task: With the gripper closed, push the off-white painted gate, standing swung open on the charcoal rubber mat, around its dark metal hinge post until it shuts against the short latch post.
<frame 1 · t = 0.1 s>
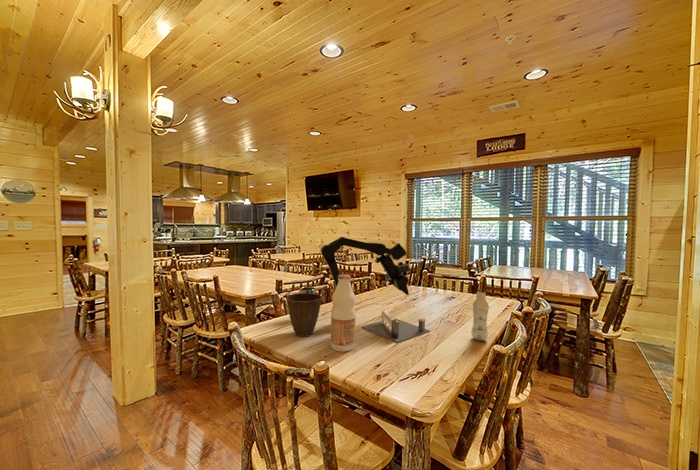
hand: (404, 292, 142), 15 cm above the table, tool tilted 30°, fingers open, 9 cm apart
hinge post: (394, 338, 122), resting on mat
latch post: (421, 331, 130), resting on mat
mat: (395, 329, 132), on the table
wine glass: (307, 318, 146), on the table
plant pot: (303, 333, 125), on the table
plastic bottle: (479, 340, 122), on the table
gate: (388, 321, 131), point 4 cm above the table, hinge at 60.0°
fruit juice: (342, 347, 112), on the table
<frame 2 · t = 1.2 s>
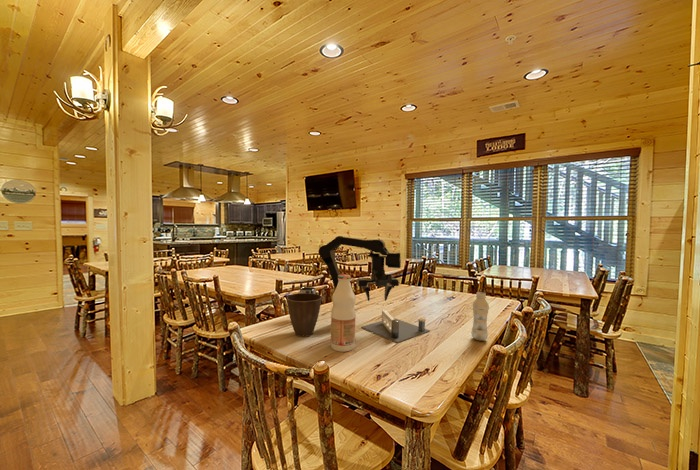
hand: (377, 300, 132), 13 cm above the table, tool pointing down, fingers open, 8 cm apart
nothing on the table moved.
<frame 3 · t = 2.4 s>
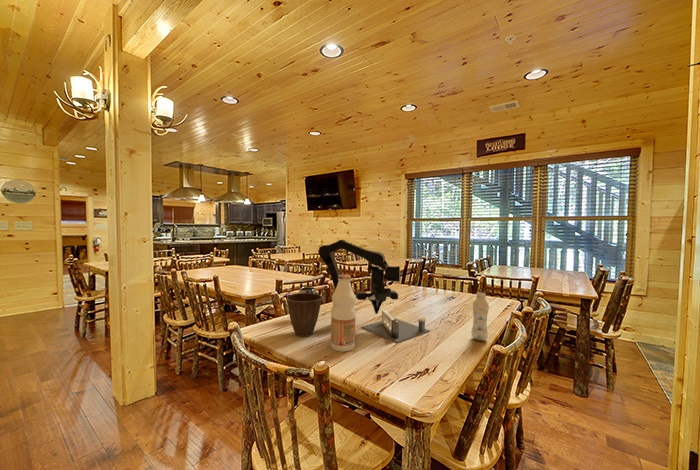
hand: (376, 313, 132), 7 cm above the table, tool pointing down, fingers closed
nothing on the table moved.
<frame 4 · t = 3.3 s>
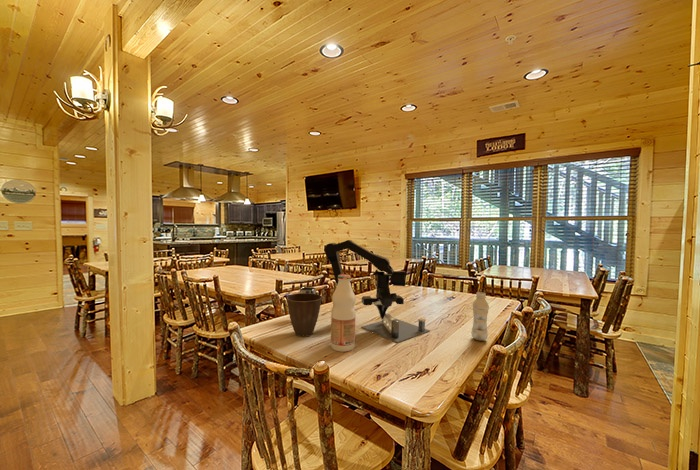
hand: (382, 318, 133), 5 cm above the table, tool pointing down, fingers closed
gate: (388, 321, 131), point 4 cm above the table, hinge at 60.0°, touching gripper
everything else where it was.
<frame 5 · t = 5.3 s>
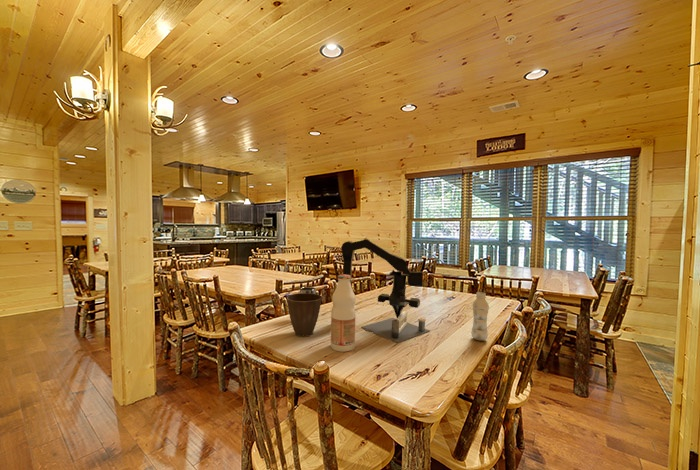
hand: (397, 318, 133), 5 cm above the table, tool pointing down, fingers closed
gate: (401, 322, 130), point 4 cm above the table, hinge at 25.3°, touching gripper
everything else where it was.
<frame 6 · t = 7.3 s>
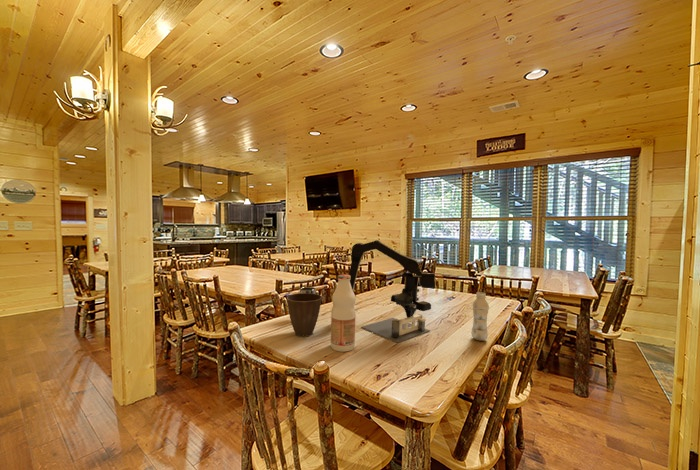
hand: (409, 320, 131), 5 cm above the table, tool pointing down, fingers closed
gate: (409, 324, 128), point 4 cm above the table, hinge at -0.4°, touching gripper, latch post
everything else where it was.
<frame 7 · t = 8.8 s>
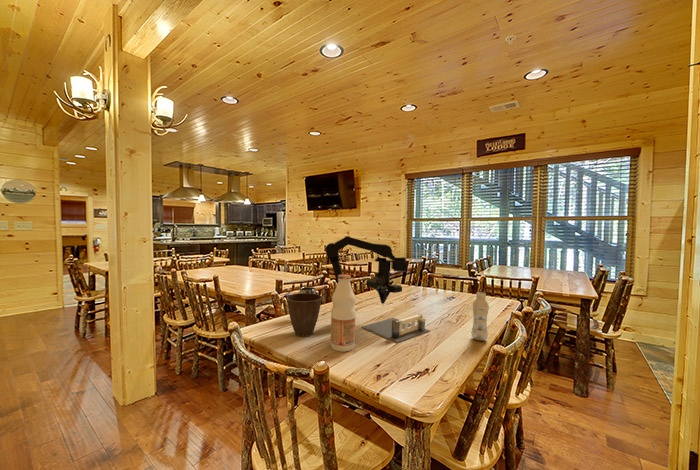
hand: (382, 303, 137), 10 cm above the table, tool pointing down, fingers closed
gate: (409, 324, 128), point 4 cm above the table, hinge at -0.4°, touching latch post
everything else where it was.
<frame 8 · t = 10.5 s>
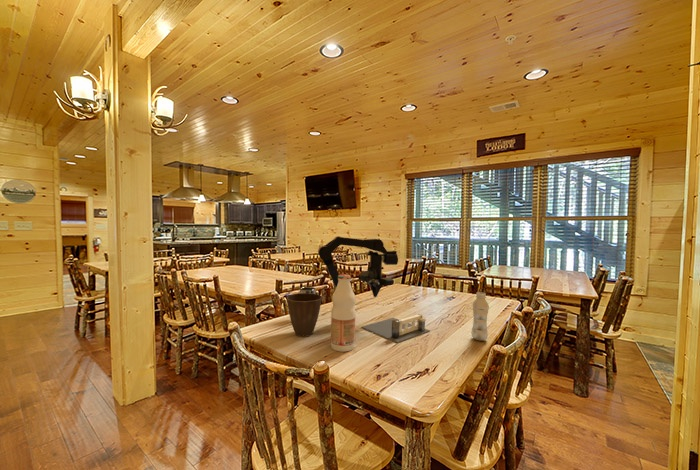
hand: (375, 296, 139), 13 cm above the table, tool pointing down, fingers closed
nothing on the table moved.
at the end: gate at +0° (first picture: +60°) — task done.
